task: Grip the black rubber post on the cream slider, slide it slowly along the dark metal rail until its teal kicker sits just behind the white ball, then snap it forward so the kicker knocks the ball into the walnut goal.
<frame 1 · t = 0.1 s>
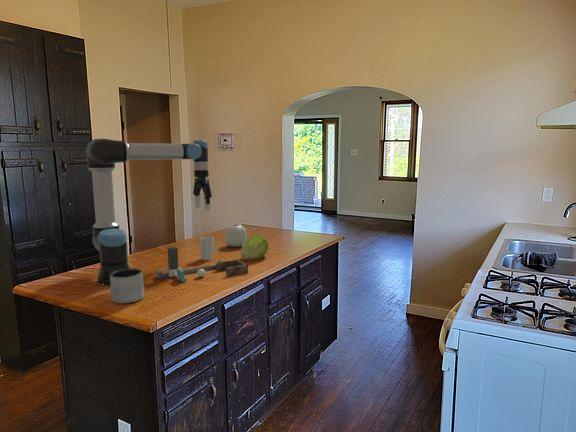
hand: (202, 209, 226), 28 cm above the countertop, fingers open, 13 cm apart
rail: (191, 272, 205), on the countertop
ball: (201, 273, 197), point 2 cm above the countertop
vase: (236, 246, 261), on the countertop
carriage: (176, 263, 195), point 7 cm above the countertop, slide at 0.0 cm
planter: (128, 299, 169), on the countertop
mug: (209, 258, 232), on the countertop
goal: (230, 271, 206), on the countertop
lettuce: (253, 259, 231), on the countertop
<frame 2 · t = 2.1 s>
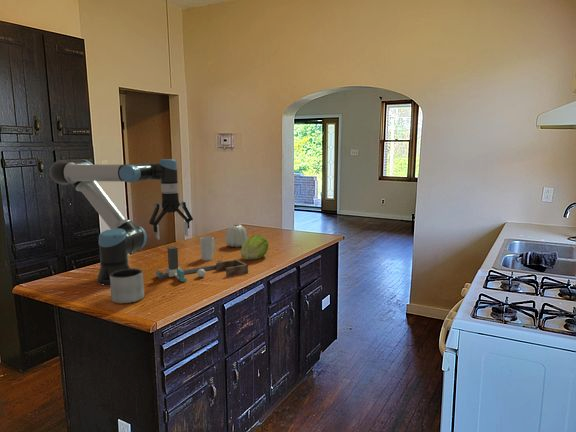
hand: (172, 237, 197), 19 cm above the countertop, fingers open, 13 cm apart
nothing on the countertop moved.
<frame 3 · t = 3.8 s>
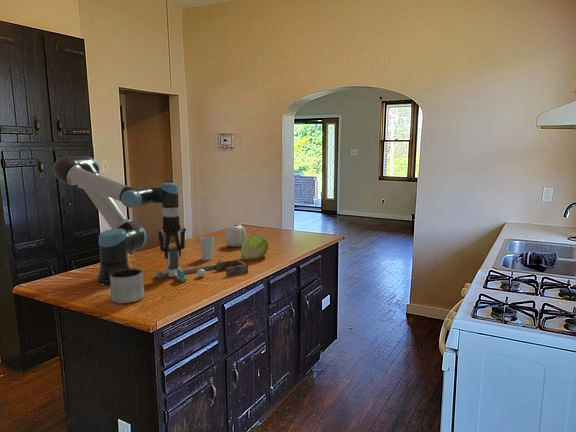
hand: (173, 264, 200), 6 cm above the countertop, fingers closed on carriage, 4 cm apart
carriage: (176, 263, 195), point 7 cm above the countertop, slide at 0.0 cm, touching gripper
everything else where it was.
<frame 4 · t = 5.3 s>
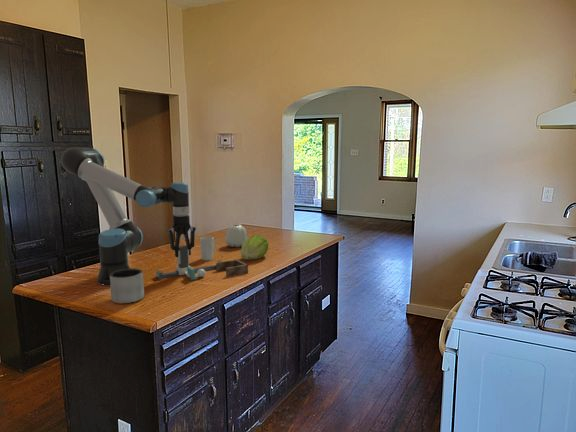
hand: (183, 262, 202), 6 cm above the countertop, fingers closed on carriage, 4 cm apart
carriage: (186, 262, 198), point 7 cm above the countertop, slide at 5.0 cm, touching gripper
everything else where it was.
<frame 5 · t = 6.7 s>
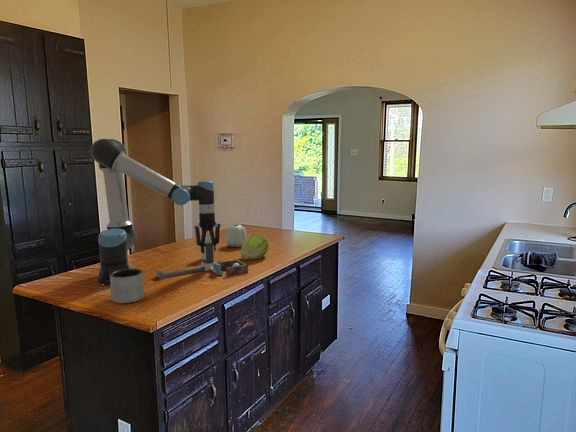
hand: (208, 258, 209), 6 cm above the countertop, fingers closed on carriage, 4 cm apart
ball: (236, 266, 208), point 2 cm above the countertop, tilted 167°
carriage: (212, 258, 205), point 7 cm above the countertop, slide at 18.1 cm, touching gripper
everything else where it was.
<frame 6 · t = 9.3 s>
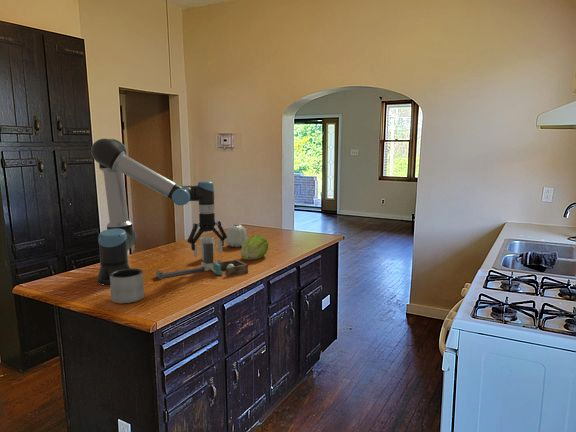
hand: (208, 254, 209), 8 cm above the countertop, fingers open, 13 cm apart
ball: (230, 267, 206), point 2 cm above the countertop, tilted 81°
carriage: (212, 258, 205), point 7 cm above the countertop, slide at 18.1 cm
everything else where it was.
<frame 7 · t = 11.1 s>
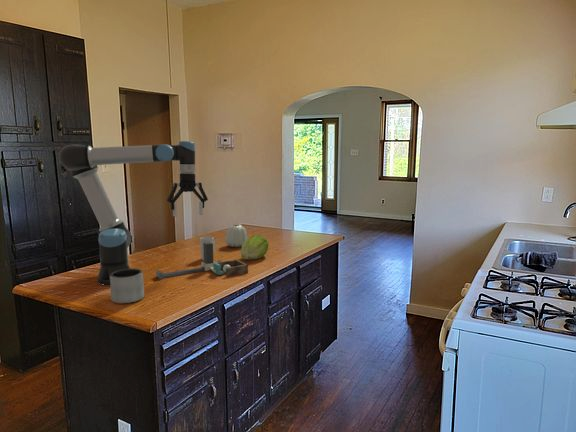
hand: (188, 215, 209), 27 cm above the countertop, fingers open, 13 cm apart
ball: (226, 268, 205), point 2 cm above the countertop, tilted 22°
everything else where it was.
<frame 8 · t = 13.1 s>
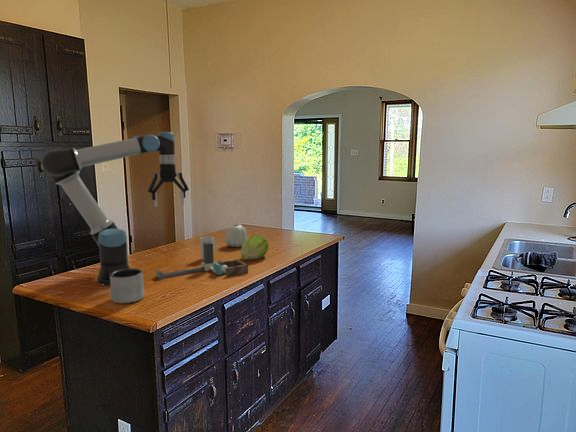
hand: (169, 205, 212), 32 cm above the countertop, fingers open, 13 cm apart
ball: (224, 269, 204), point 2 cm above the countertop, tilted 21°
everything else where it was.
at the end: ball inside the target area on the goal (3.4 cm from its centre), point 2.0 cm above the goal's base; carriage slide at 18.1 cm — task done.
